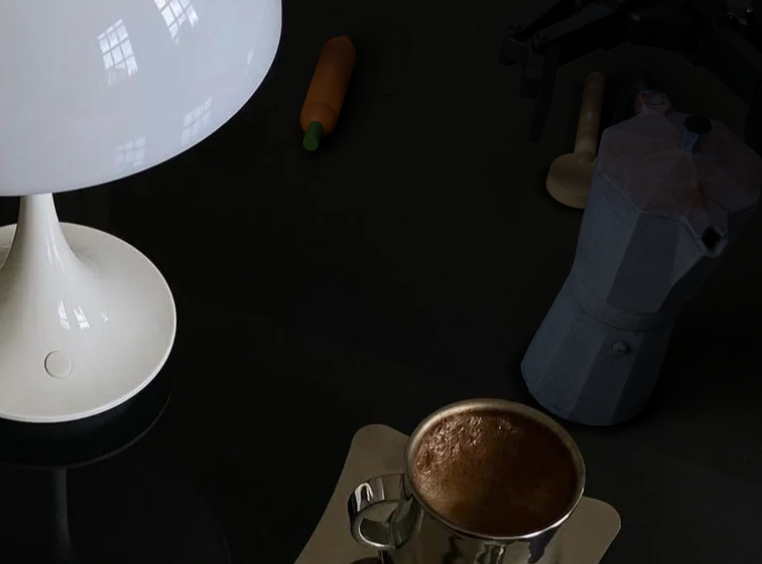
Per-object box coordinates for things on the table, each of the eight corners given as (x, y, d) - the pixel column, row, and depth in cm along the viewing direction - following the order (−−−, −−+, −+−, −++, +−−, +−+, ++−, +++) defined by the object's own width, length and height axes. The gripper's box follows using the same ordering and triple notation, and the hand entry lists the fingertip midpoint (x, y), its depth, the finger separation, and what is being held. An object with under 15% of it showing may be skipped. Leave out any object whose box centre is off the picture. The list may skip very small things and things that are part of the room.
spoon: (562, 81, 105) (568, 62, 104) (623, 91, 105) (629, 73, 104) (542, 201, 98) (548, 183, 96) (607, 214, 97) (614, 195, 96)
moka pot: (554, 471, 84) (664, 205, 67) (476, 305, 92) (557, 28, 75) (693, 451, 85) (835, 185, 68) (605, 288, 93) (713, 13, 76)
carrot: (326, 46, 107) (330, 13, 105) (360, 52, 107) (365, 19, 104) (290, 157, 100) (294, 123, 97) (326, 163, 99) (331, 130, 97)
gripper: (823, 40, 96) (822, 230, 85) (481, -20, 98) (438, 157, 88) (873, -65, 89) (879, 126, 79) (505, -126, 92) (463, 51, 81)
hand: (646, 143), depth 83 cm, fingers open, 13 cm apart
